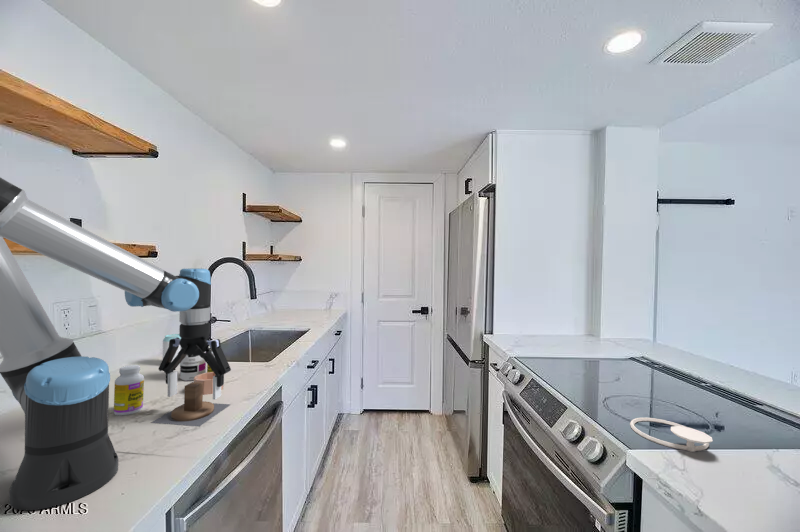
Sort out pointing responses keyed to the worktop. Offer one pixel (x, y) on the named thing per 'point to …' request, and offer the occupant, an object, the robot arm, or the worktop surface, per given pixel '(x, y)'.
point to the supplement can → (192, 367)
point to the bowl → (206, 382)
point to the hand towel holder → (680, 431)
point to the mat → (168, 420)
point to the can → (166, 344)
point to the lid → (192, 404)
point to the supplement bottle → (128, 390)
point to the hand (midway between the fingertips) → (194, 396)
